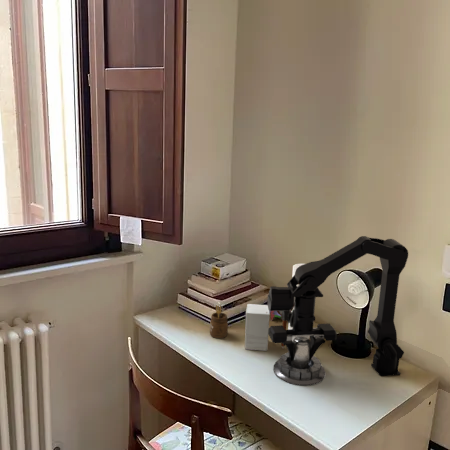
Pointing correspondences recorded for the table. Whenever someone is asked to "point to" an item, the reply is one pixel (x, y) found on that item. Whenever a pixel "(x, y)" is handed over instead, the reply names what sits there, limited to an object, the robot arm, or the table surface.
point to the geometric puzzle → (274, 314)
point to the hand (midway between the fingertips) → (300, 359)
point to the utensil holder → (218, 324)
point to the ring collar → (299, 371)
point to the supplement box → (257, 327)
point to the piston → (301, 353)
